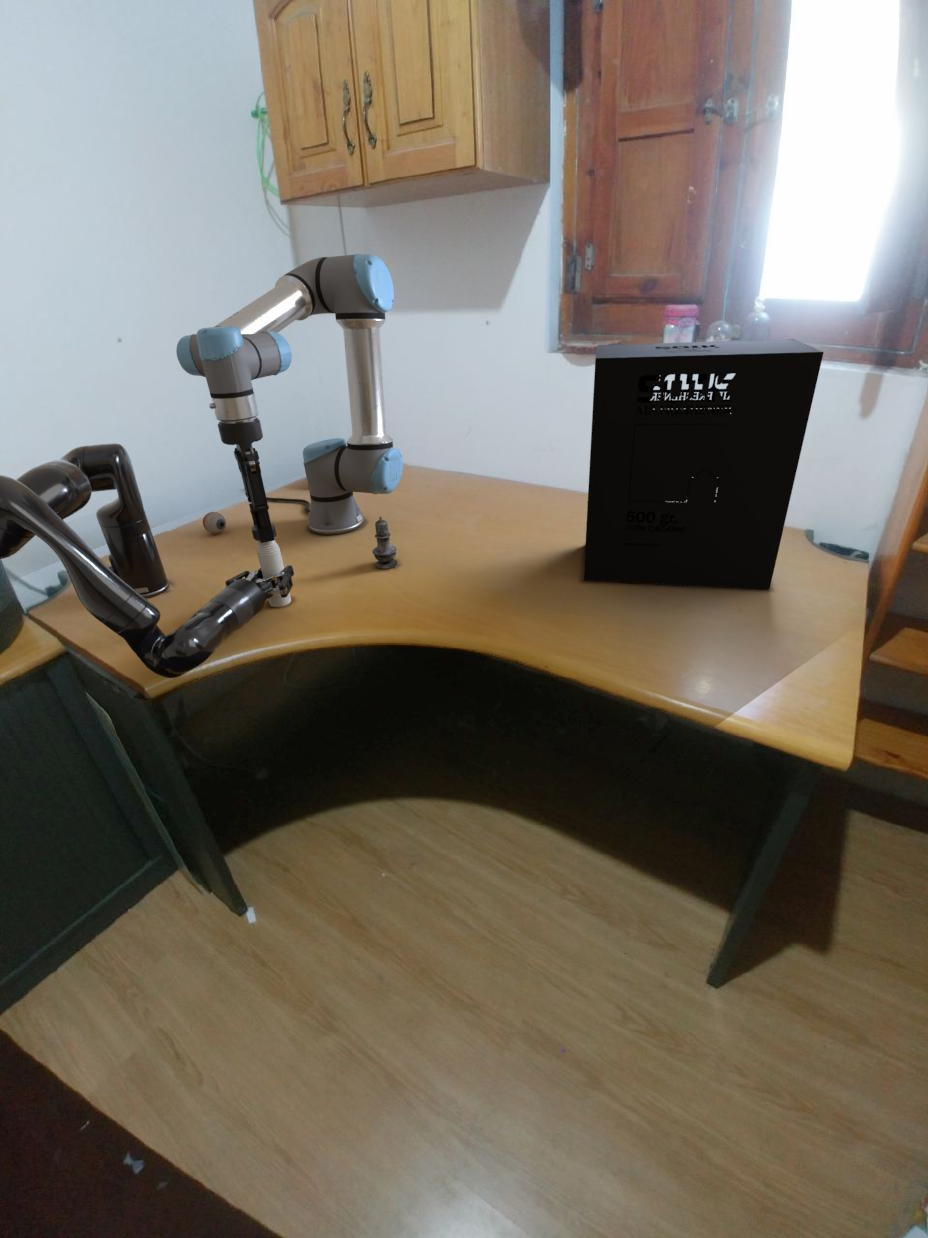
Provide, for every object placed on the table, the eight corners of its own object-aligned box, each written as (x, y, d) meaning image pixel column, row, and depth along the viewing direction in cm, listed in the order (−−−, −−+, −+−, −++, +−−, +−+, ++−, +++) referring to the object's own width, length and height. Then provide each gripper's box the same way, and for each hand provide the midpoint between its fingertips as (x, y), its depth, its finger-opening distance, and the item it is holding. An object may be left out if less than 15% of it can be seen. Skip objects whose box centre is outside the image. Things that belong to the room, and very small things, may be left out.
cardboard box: (750, 549, 141) (792, 338, 119) (769, 589, 124) (823, 351, 101) (586, 544, 149) (597, 345, 126) (583, 580, 132) (595, 358, 109)
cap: (260, 542, 120) (258, 532, 119) (249, 537, 123) (247, 527, 122) (280, 536, 123) (278, 525, 122) (269, 530, 126) (267, 520, 125)
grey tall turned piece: (394, 569, 142) (388, 521, 136) (370, 568, 143) (363, 520, 137) (401, 559, 147) (396, 512, 141) (378, 558, 148) (372, 511, 142)
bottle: (295, 600, 131) (279, 528, 122) (277, 609, 128) (260, 535, 119) (283, 595, 133) (266, 523, 125) (265, 603, 130) (247, 530, 122)
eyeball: (216, 538, 165) (210, 517, 162) (201, 534, 168) (195, 514, 165) (233, 531, 169) (228, 510, 166) (219, 527, 172) (213, 507, 169)
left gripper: (263, 591, 112) (307, 554, 126) (197, 586, 115) (247, 550, 129) (272, 626, 115) (313, 586, 130) (208, 620, 119) (255, 581, 133)
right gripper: (211, 414, 117) (240, 527, 129) (222, 430, 103) (253, 555, 115) (251, 409, 120) (275, 520, 131) (267, 424, 106) (292, 547, 118)
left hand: (280, 568), depth 129 cm, fingers closed on bottle, 4 cm apart
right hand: (265, 536), depth 123 cm, fingers closed on cap, 4 cm apart
